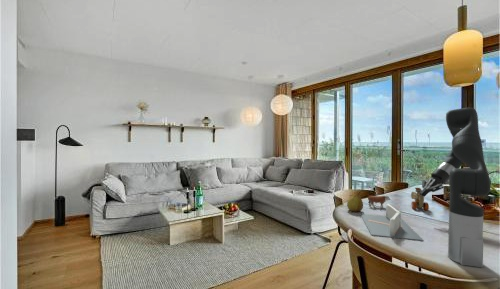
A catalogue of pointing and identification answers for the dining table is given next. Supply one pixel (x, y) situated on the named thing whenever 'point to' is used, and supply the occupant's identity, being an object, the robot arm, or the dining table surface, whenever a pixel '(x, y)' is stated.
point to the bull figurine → (378, 200)
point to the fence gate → (390, 211)
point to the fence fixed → (395, 223)
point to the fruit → (355, 203)
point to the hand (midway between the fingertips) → (421, 195)
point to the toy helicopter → (418, 200)
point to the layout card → (388, 228)
